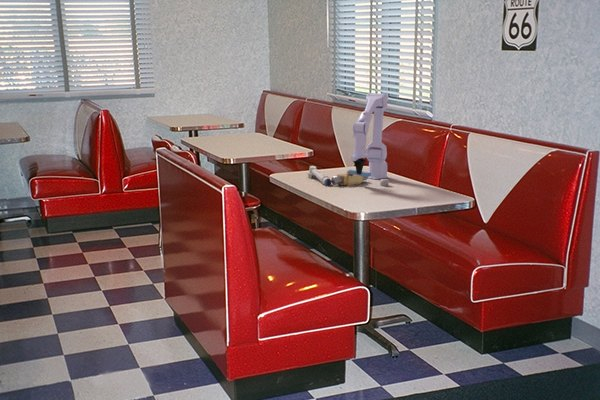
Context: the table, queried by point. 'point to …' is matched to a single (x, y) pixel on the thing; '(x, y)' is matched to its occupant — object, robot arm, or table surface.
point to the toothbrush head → (318, 176)
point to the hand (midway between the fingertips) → (359, 173)
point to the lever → (351, 172)
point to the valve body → (348, 179)
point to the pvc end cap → (384, 182)
